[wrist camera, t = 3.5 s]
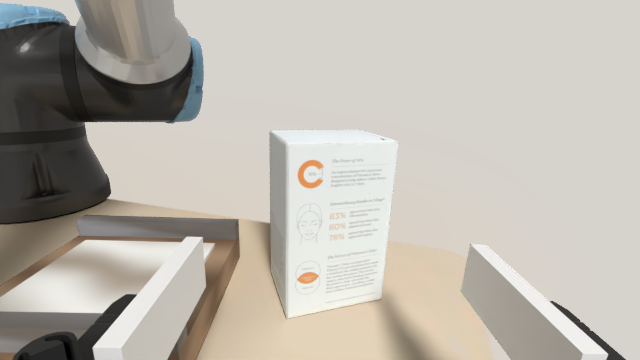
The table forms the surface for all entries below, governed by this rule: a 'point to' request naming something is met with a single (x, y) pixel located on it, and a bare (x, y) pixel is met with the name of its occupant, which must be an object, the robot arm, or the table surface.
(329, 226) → the small box
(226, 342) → the table surface
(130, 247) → the tray
